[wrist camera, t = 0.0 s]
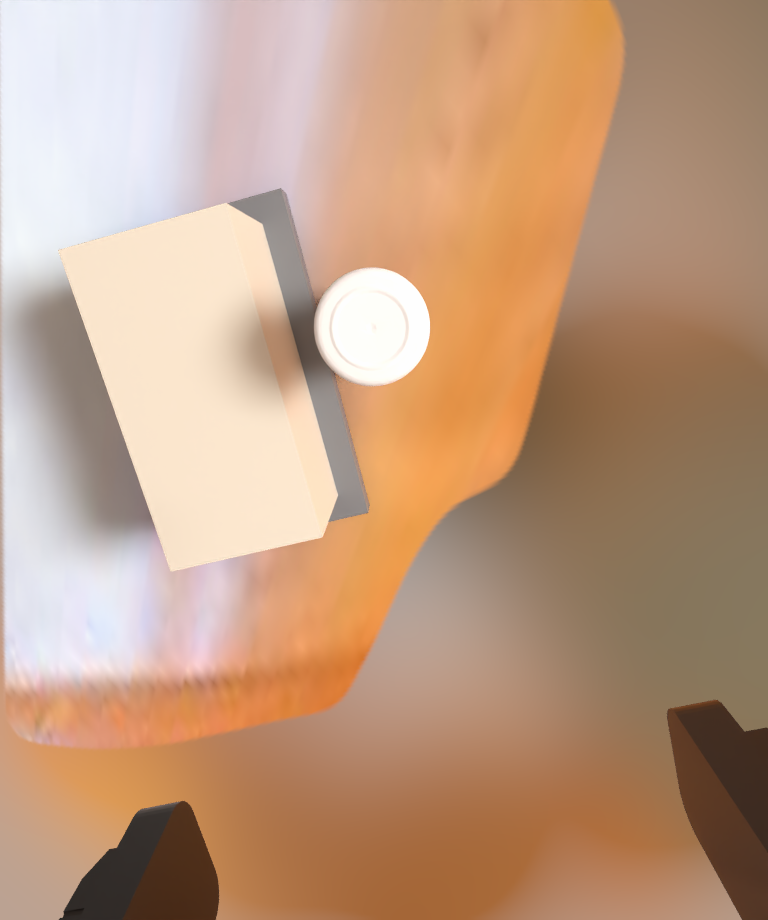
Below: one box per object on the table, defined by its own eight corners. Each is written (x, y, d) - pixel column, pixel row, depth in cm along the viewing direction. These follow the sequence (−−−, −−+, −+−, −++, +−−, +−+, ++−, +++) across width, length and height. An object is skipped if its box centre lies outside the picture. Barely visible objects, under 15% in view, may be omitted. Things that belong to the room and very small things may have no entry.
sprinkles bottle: (408, 370, 38) (408, 403, 25) (335, 347, 38) (297, 367, 25) (432, 295, 37) (447, 288, 24) (358, 270, 37) (330, 249, 23)
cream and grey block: (105, 243, 37) (15, 224, 28) (286, 193, 36) (248, 157, 27) (205, 543, 41) (152, 604, 32) (369, 505, 40) (359, 558, 31)
